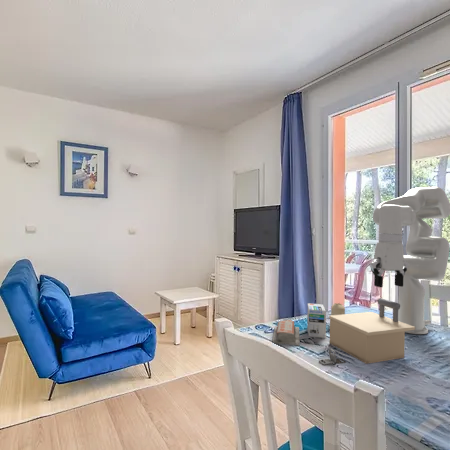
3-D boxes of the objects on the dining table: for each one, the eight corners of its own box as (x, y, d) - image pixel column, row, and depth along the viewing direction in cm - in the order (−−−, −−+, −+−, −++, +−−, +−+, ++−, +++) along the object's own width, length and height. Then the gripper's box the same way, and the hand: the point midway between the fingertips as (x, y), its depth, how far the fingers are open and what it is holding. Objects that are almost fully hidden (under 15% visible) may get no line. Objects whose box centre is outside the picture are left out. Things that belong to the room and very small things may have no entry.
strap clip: (323, 366, 98) (324, 353, 98) (318, 362, 101) (318, 349, 101) (346, 363, 101) (346, 350, 101) (340, 359, 104) (340, 346, 104)
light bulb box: (326, 338, 122) (326, 310, 122) (308, 336, 124) (308, 309, 124) (323, 329, 133) (323, 304, 133) (306, 328, 134) (307, 302, 134)
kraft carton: (363, 338, 122) (364, 315, 122) (404, 357, 106) (404, 330, 106) (329, 343, 117) (330, 319, 117) (366, 363, 100) (367, 335, 100)
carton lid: (371, 314, 124) (371, 294, 124) (415, 329, 106) (415, 307, 106) (329, 318, 118) (329, 297, 118) (368, 335, 100) (368, 311, 100)
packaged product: (300, 333, 114) (272, 331, 116) (299, 347, 114) (271, 344, 116) (299, 319, 132) (275, 317, 134) (299, 330, 132) (275, 328, 134)
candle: (338, 329, 133) (338, 305, 133) (328, 325, 138) (328, 302, 138) (347, 327, 135) (347, 304, 135) (337, 324, 140) (337, 301, 140)
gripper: (399, 239, 121) (397, 283, 121) (363, 238, 115) (362, 285, 115) (417, 240, 114) (415, 287, 114) (379, 239, 108) (378, 289, 108)
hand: (388, 286), depth 114 cm, fingers open, 9 cm apart
